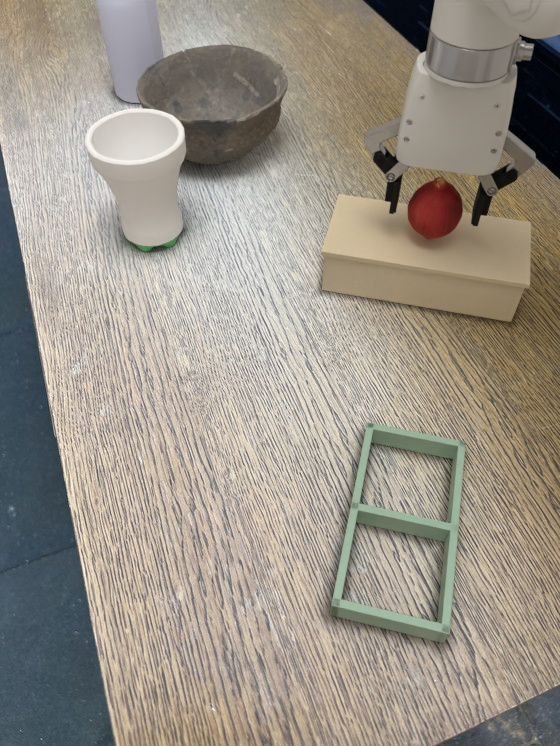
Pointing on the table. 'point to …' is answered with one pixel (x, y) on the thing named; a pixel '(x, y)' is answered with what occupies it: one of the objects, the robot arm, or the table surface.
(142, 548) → the table surface
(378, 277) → the beige rectangular box
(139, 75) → the soap bottle
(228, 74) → the bowl
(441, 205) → the red pomegranate
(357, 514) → the green rectangular frame
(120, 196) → the cup
